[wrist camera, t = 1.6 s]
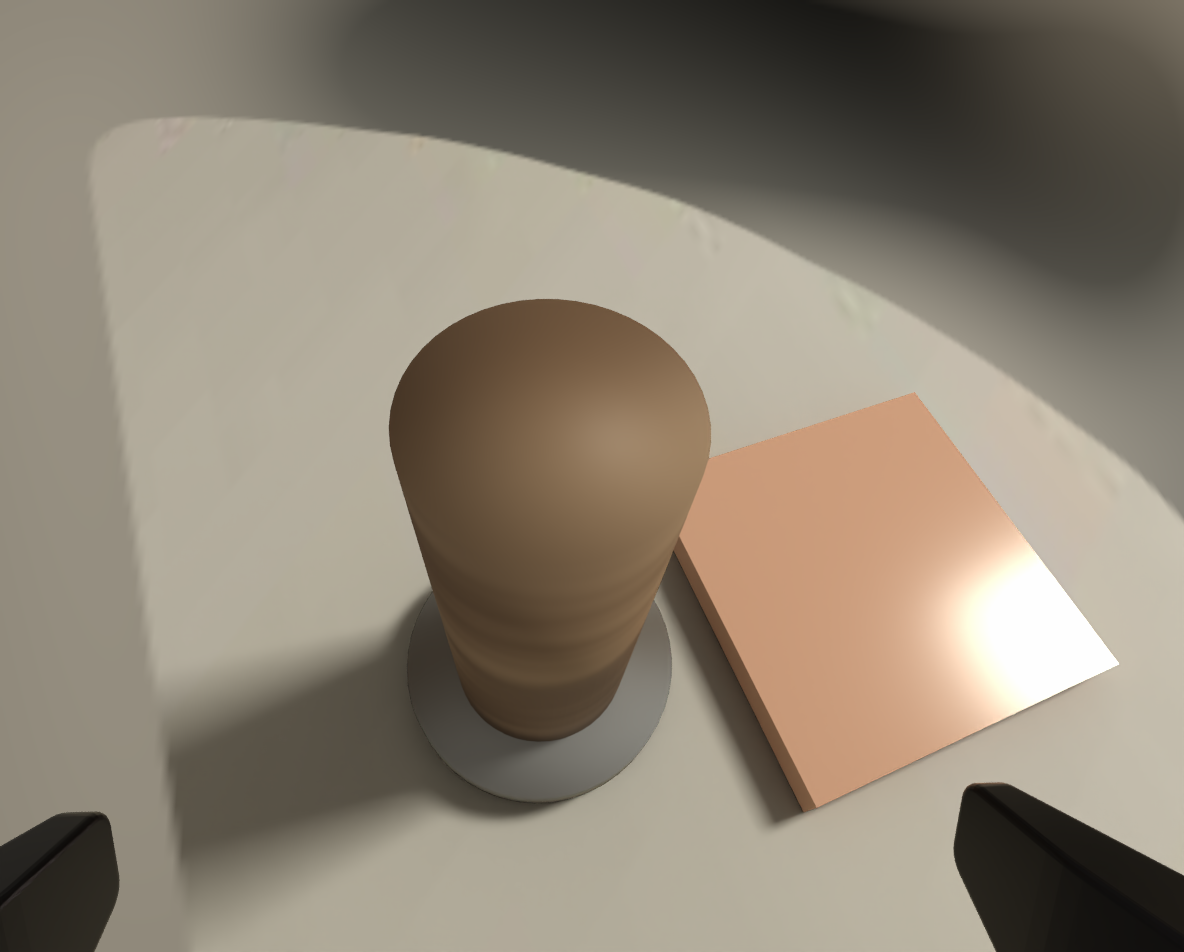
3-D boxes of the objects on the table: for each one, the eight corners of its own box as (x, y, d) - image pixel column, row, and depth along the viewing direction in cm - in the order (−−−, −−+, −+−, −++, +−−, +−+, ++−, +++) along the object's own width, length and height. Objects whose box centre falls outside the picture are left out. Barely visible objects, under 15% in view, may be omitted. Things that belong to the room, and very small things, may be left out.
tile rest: (1095, 673, 21) (1119, 663, 21) (803, 812, 19) (817, 807, 18) (901, 409, 26) (914, 392, 25) (645, 493, 23) (649, 477, 23)
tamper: (708, 740, 20) (904, 554, 9) (455, 849, 18) (356, 768, 8) (607, 521, 23) (672, 203, 13) (384, 596, 21) (244, 296, 11)
